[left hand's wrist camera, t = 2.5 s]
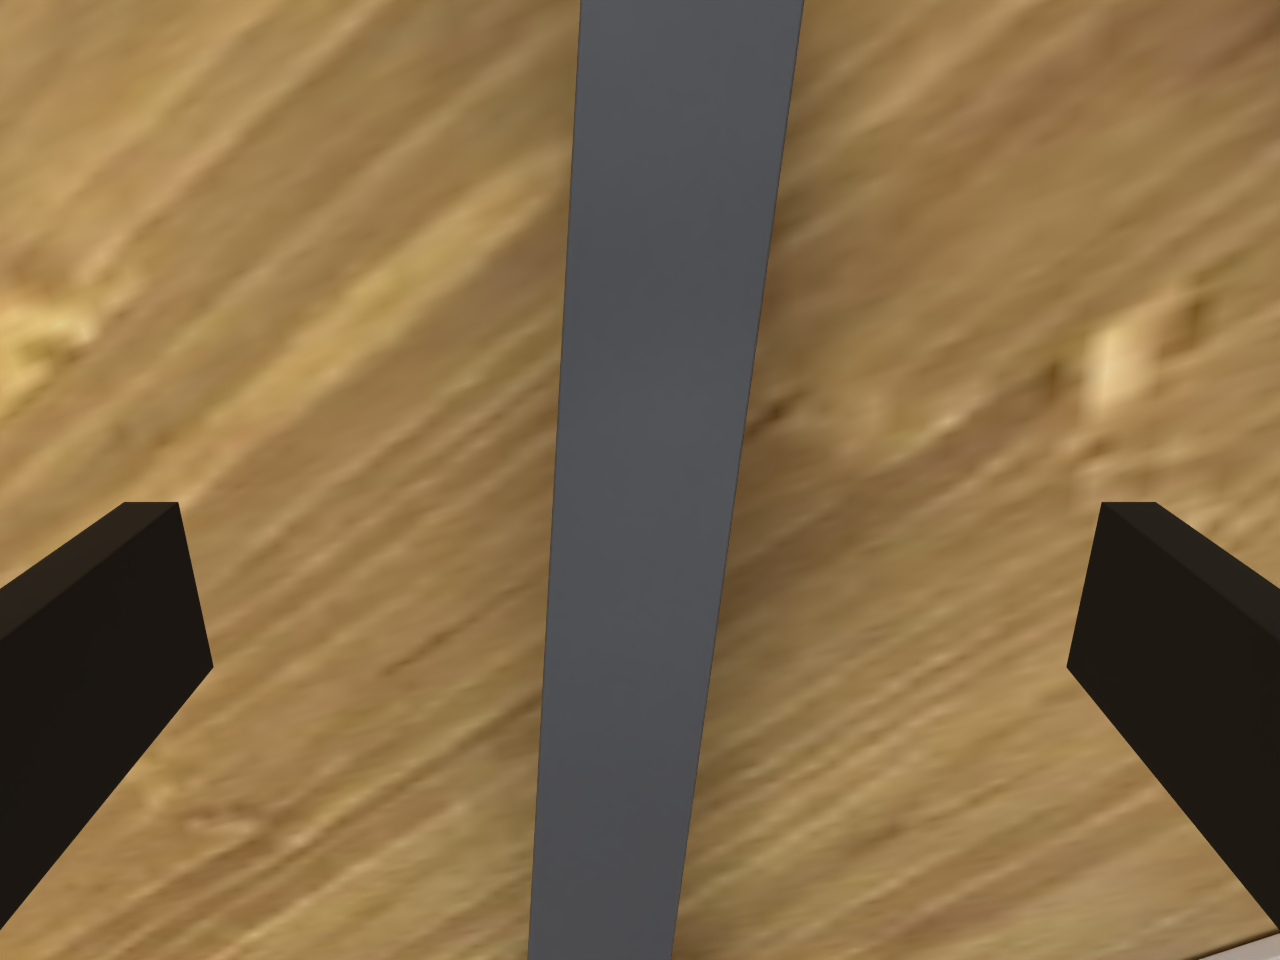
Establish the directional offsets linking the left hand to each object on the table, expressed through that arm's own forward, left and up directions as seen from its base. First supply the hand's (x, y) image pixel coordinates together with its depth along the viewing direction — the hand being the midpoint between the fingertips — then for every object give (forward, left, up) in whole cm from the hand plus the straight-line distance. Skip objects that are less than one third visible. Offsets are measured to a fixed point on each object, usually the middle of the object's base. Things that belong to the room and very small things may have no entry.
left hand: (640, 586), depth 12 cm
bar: (+15, -25, -17) cm, 34 cm away
